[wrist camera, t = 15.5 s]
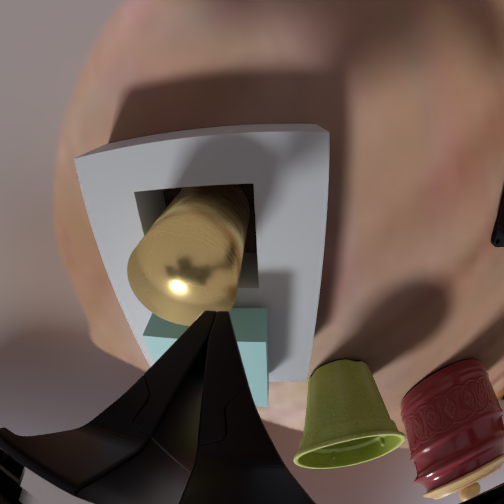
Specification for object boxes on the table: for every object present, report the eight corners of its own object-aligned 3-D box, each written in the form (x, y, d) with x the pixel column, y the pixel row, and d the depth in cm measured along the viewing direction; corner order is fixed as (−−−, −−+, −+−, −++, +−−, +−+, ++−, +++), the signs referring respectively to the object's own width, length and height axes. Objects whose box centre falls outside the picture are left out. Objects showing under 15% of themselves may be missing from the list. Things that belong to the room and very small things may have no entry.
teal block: (267, 308, 15) (265, 342, 13) (268, 377, 19) (267, 406, 17) (155, 305, 15) (142, 335, 13) (182, 373, 19) (175, 399, 17)
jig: (316, 123, 13) (329, 132, 10) (303, 346, 22) (306, 381, 19) (107, 143, 14) (73, 158, 11) (165, 342, 23) (154, 373, 20)
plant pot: (373, 331, 21) (398, 423, 14) (392, 378, 25) (409, 448, 17) (274, 367, 24) (272, 455, 17) (314, 405, 28) (318, 473, 21)
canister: (478, 382, 27) (508, 477, 12) (405, 419, 32) (421, 518, 17) (485, 340, 22) (534, 466, 7) (390, 390, 26) (413, 527, 11)
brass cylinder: (247, 173, 15) (231, 232, 9) (251, 242, 17) (241, 327, 11) (171, 178, 15) (113, 236, 9) (183, 244, 18) (144, 322, 12)
